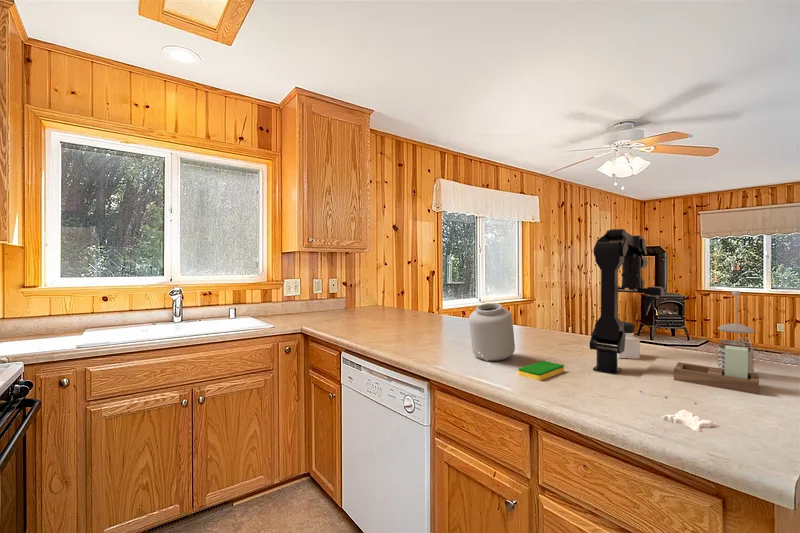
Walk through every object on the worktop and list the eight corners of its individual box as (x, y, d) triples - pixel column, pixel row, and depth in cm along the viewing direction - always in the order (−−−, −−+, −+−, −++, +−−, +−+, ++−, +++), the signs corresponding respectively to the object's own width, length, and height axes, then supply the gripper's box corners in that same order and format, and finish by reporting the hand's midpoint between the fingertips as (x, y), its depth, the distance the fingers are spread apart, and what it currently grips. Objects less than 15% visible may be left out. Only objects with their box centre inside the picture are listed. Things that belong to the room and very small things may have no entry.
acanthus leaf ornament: (661, 422, 81) (661, 413, 81) (678, 415, 84) (678, 407, 84) (702, 436, 74) (702, 427, 74) (719, 428, 77) (719, 419, 77)
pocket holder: (759, 398, 92) (759, 382, 91) (673, 383, 103) (673, 369, 103) (758, 389, 98) (758, 374, 98) (678, 375, 110) (678, 362, 110)
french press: (747, 372, 112) (748, 289, 112) (770, 385, 101) (771, 293, 101) (707, 369, 115) (708, 288, 115) (726, 381, 105) (727, 292, 104)
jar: (499, 368, 119) (498, 289, 118) (458, 360, 128) (458, 287, 128) (521, 356, 134) (521, 286, 133) (483, 349, 143) (483, 284, 142)
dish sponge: (517, 376, 112) (517, 368, 112) (543, 367, 121) (543, 360, 121) (539, 382, 107) (539, 373, 107) (564, 372, 115) (564, 365, 115)
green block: (747, 390, 95) (747, 351, 94) (724, 386, 98) (724, 348, 97) (747, 385, 98) (747, 347, 98) (725, 382, 101) (725, 345, 101)
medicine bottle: (629, 353, 135) (629, 320, 135) (640, 359, 128) (640, 324, 128) (608, 353, 136) (608, 320, 136) (618, 358, 129) (618, 324, 128)
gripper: (667, 270, 134) (667, 314, 134) (609, 269, 147) (609, 309, 147) (660, 271, 126) (660, 317, 126) (600, 270, 139) (600, 312, 139)
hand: (631, 314), depth 135 cm, fingers open, 9 cm apart
